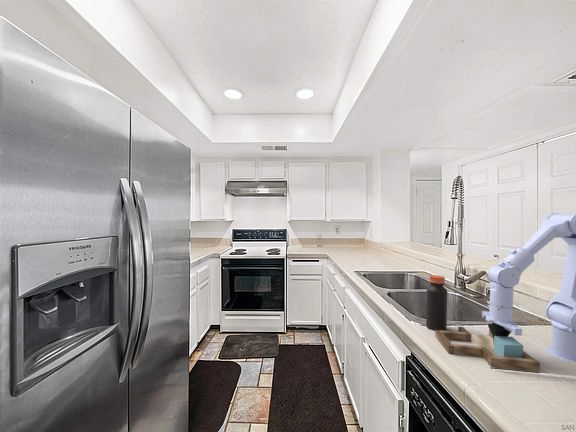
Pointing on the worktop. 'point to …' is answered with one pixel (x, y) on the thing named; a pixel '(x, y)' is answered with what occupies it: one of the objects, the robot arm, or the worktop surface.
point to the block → (507, 347)
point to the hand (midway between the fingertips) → (499, 348)
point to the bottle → (436, 304)
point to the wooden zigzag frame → (484, 350)
